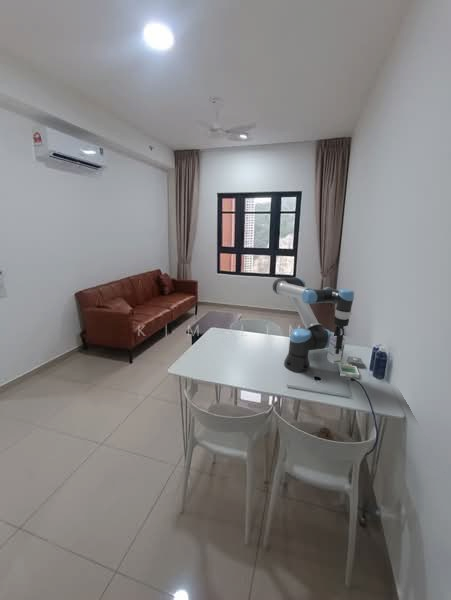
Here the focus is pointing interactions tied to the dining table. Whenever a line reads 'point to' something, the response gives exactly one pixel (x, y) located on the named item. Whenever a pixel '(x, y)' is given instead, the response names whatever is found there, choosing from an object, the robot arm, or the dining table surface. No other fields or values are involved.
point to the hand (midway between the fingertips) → (334, 355)
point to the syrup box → (331, 349)
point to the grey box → (355, 362)
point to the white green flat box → (348, 370)
